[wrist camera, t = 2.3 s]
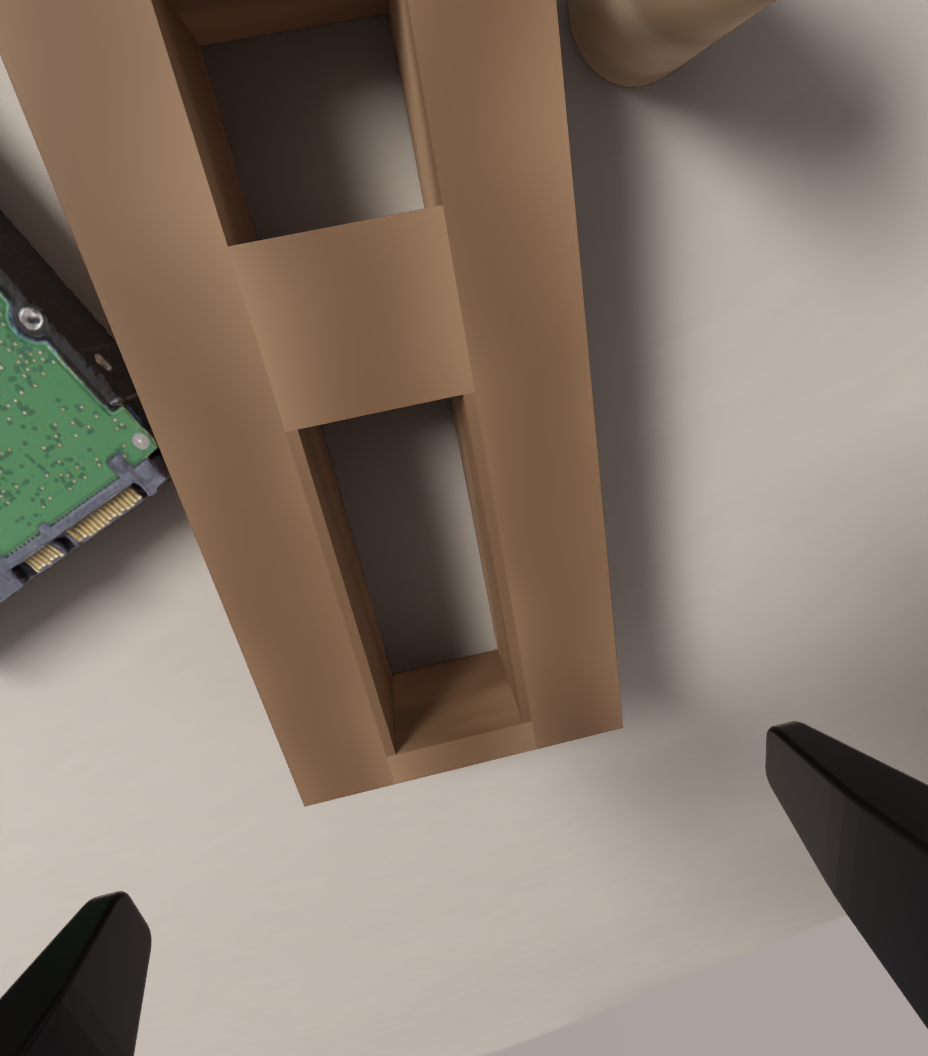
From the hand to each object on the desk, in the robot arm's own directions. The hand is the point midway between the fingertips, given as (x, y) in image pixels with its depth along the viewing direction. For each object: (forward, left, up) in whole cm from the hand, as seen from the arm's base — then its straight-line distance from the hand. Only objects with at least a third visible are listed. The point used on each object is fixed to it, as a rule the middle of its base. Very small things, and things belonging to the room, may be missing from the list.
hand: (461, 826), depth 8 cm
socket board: (0, -4, -10) cm, 11 cm away
